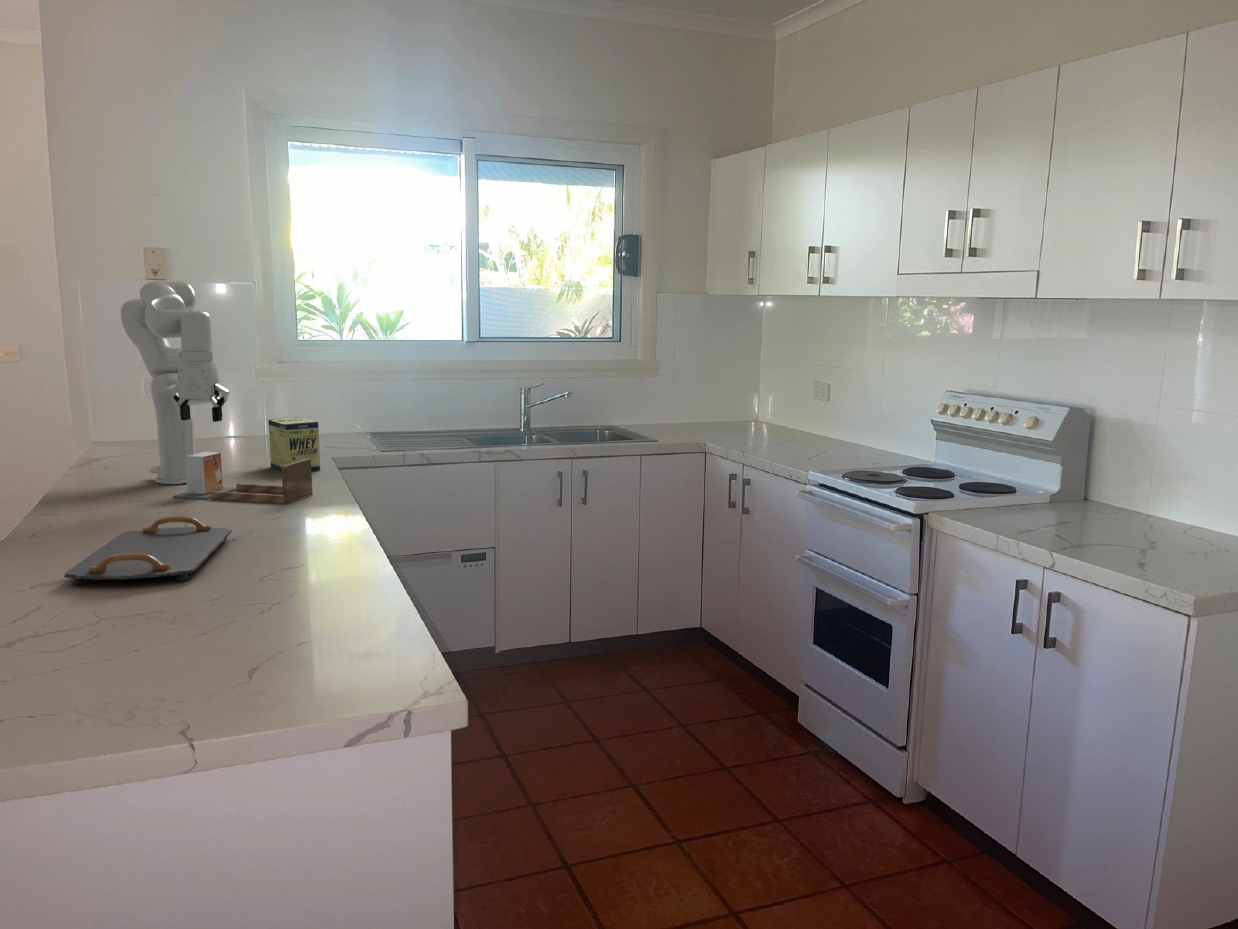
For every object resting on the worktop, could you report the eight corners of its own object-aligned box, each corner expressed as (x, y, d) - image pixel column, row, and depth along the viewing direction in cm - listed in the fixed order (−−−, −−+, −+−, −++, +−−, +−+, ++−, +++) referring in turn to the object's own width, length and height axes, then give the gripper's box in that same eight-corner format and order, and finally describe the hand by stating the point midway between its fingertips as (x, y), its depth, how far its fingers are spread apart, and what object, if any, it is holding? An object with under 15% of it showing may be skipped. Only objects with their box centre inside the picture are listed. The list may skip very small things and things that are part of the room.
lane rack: (211, 499, 245) (208, 462, 243) (239, 490, 257) (237, 455, 255) (287, 503, 240) (285, 466, 239) (312, 494, 252) (310, 458, 251)
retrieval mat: (173, 497, 246) (173, 495, 246) (206, 487, 260) (206, 486, 260) (206, 499, 244) (206, 497, 244) (237, 489, 258) (237, 487, 258)
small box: (205, 495, 248) (202, 456, 246) (187, 493, 249) (184, 455, 247) (223, 489, 255) (221, 452, 254) (206, 488, 256) (203, 451, 255)
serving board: (128, 541, 203) (125, 514, 202) (238, 537, 207) (236, 511, 206) (55, 594, 166) (52, 561, 164) (191, 589, 170) (189, 556, 169)
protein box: (288, 474, 282) (286, 424, 279) (269, 467, 294) (267, 419, 291) (321, 470, 289) (319, 421, 286) (301, 463, 300) (299, 416, 298)
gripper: (159, 357, 244) (164, 420, 247) (217, 359, 240) (221, 423, 243) (178, 355, 251) (182, 417, 254) (234, 357, 248) (238, 420, 251)
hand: (201, 420), depth 249 cm, fingers open, 9 cm apart
